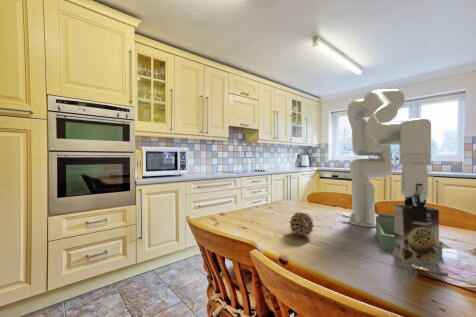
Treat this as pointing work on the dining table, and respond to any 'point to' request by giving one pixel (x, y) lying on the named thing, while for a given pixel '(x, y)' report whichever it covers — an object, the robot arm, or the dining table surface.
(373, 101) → the robot arm
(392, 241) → the tray
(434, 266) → the mat
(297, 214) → the pine cone
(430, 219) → the cookie box
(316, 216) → the dining table surface
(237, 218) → the dining table surface
